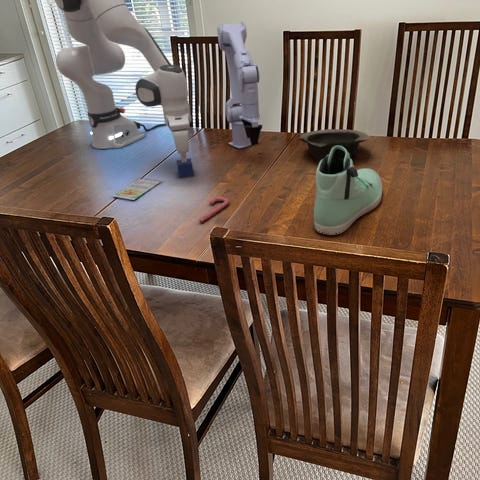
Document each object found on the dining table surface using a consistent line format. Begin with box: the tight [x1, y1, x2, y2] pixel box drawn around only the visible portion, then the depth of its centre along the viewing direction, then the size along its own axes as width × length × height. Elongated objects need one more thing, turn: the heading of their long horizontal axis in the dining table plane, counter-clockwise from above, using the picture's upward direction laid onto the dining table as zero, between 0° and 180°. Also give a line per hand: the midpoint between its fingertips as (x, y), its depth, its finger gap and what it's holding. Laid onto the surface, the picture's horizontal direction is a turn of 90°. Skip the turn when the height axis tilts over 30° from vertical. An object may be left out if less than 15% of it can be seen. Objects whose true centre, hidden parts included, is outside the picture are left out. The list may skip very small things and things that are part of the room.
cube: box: [175, 158, 195, 179], centre depth 168 cm, size 5×5×5 cm
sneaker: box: [313, 146, 383, 236], centre depth 133 cm, size 14×35×20 cm, turn 152°
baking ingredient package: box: [112, 178, 161, 201], centre depth 160 cm, size 9×1×15 cm
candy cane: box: [198, 196, 230, 223], centre depth 143 cm, size 6×15×2 cm, turn 145°
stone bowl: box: [298, 128, 371, 163], centre depth 172 cm, size 25×25×9 cm
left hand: (183, 156), depth 165 cm, fingers open, 8 cm apart
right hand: (252, 140), depth 171 cm, fingers open, 7 cm apart
